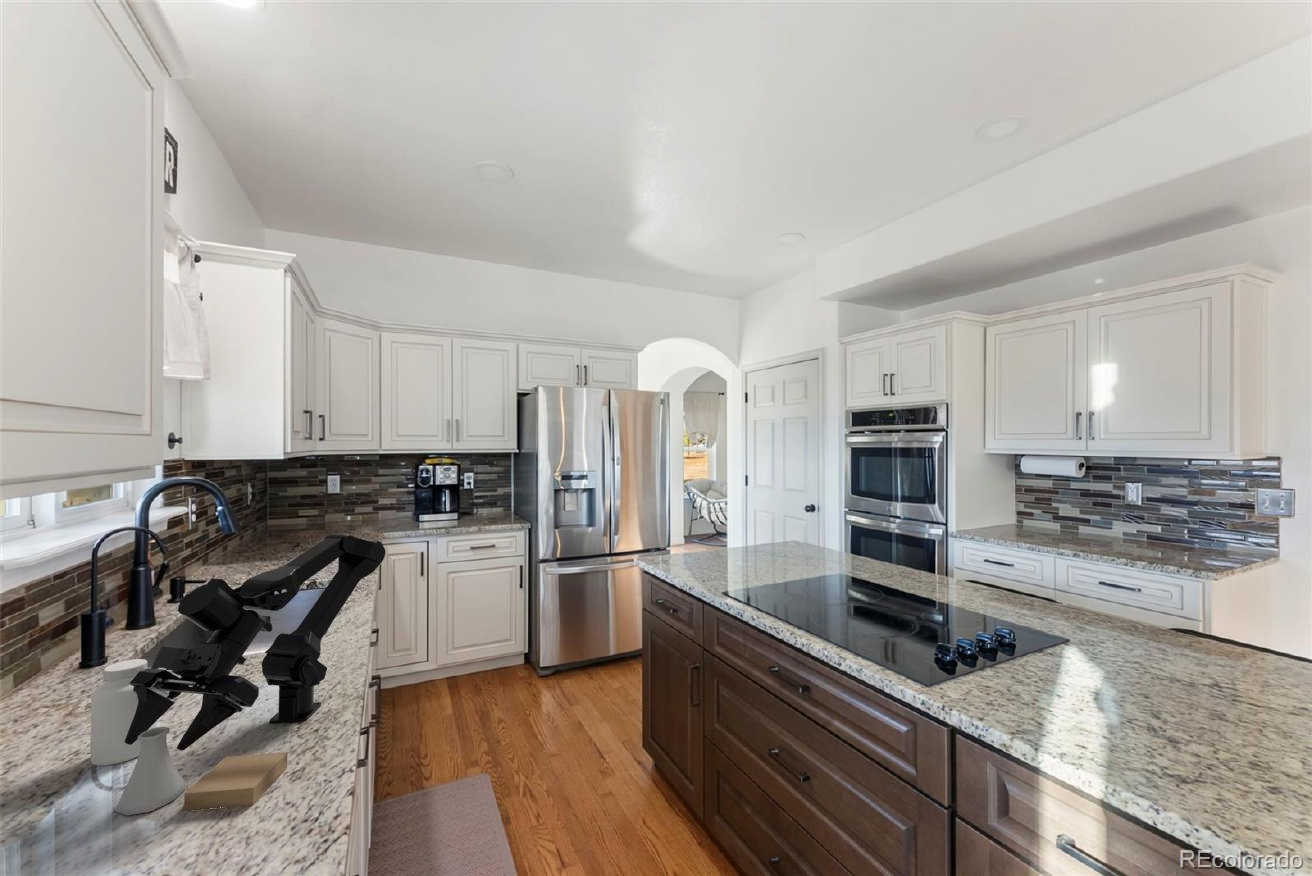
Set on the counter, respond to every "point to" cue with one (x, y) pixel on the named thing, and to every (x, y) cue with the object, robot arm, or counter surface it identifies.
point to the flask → (151, 776)
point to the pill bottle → (115, 714)
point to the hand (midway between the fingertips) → (153, 746)
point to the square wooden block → (236, 781)
